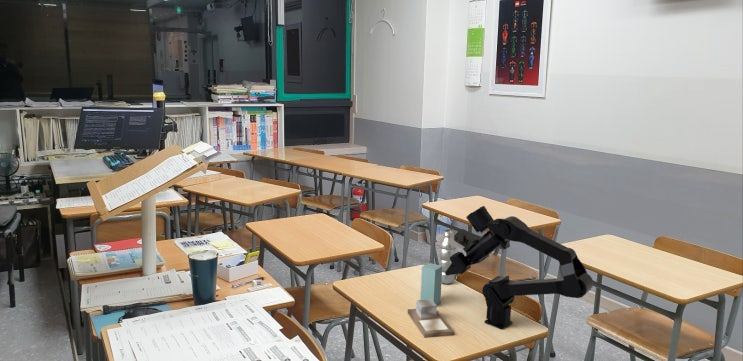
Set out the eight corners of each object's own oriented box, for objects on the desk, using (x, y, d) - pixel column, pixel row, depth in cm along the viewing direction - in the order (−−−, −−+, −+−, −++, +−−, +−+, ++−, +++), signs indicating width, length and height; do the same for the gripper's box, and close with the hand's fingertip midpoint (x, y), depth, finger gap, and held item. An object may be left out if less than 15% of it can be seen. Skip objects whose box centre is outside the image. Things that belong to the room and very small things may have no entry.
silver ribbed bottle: (433, 280, 200) (436, 229, 196) (449, 278, 202) (452, 227, 198) (441, 286, 194) (444, 234, 190) (457, 284, 196) (461, 232, 193)
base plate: (433, 310, 173) (434, 295, 172) (453, 335, 157) (454, 318, 156) (407, 312, 171) (408, 297, 170) (424, 337, 155) (425, 320, 154)
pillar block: (440, 302, 180) (442, 266, 177) (433, 307, 176) (435, 270, 173) (427, 298, 183) (429, 262, 180) (420, 303, 179) (421, 266, 176)
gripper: (482, 217, 174) (450, 243, 182) (457, 229, 159) (423, 257, 167) (503, 245, 171) (470, 270, 179) (480, 260, 156) (444, 286, 164)
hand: (452, 270), depth 173 cm, fingers open, 9 cm apart
